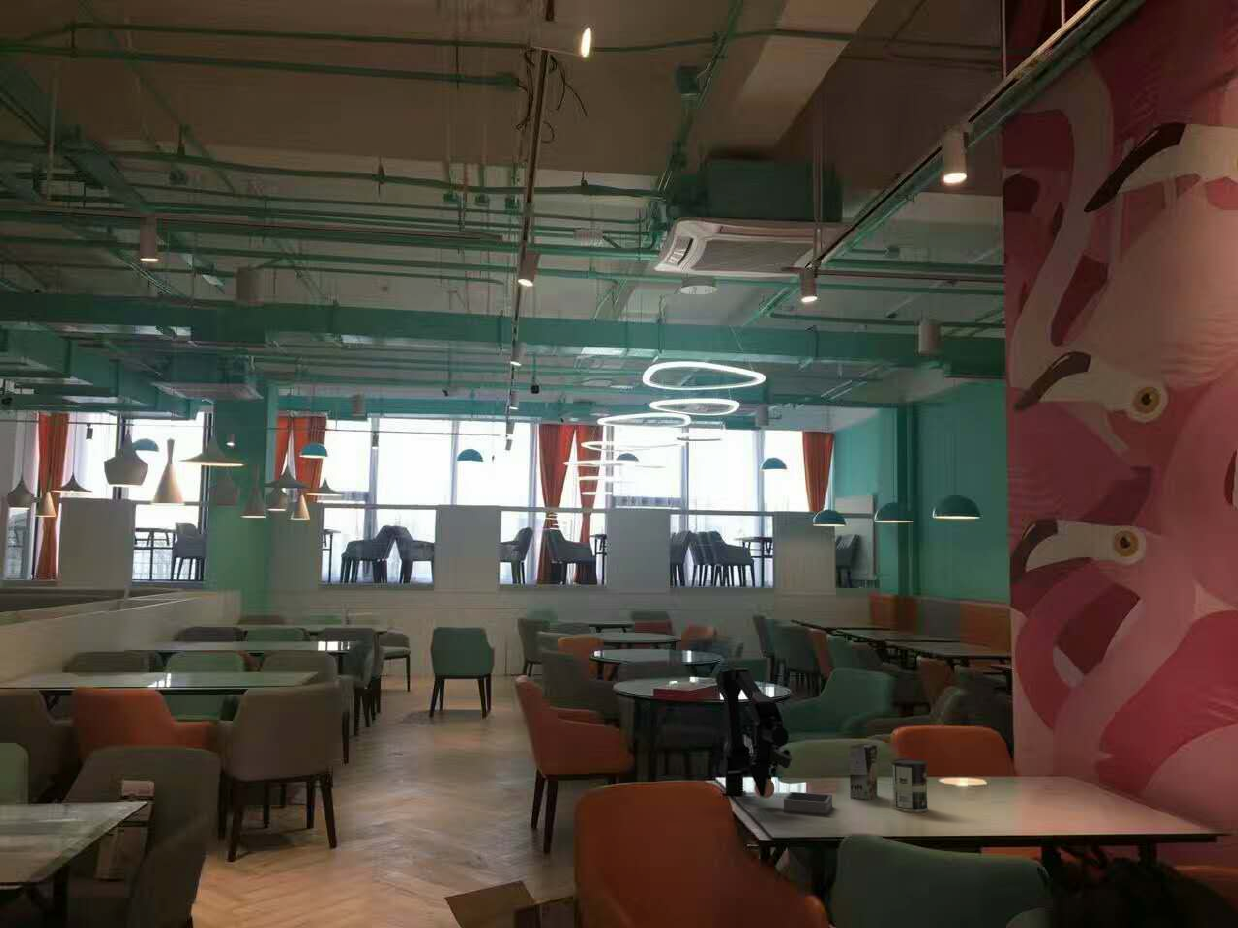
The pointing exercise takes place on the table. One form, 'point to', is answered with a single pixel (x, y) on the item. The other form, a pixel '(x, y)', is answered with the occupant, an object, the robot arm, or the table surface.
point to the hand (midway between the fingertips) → (764, 793)
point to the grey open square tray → (808, 803)
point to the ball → (768, 790)
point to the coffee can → (909, 785)
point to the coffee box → (863, 771)
